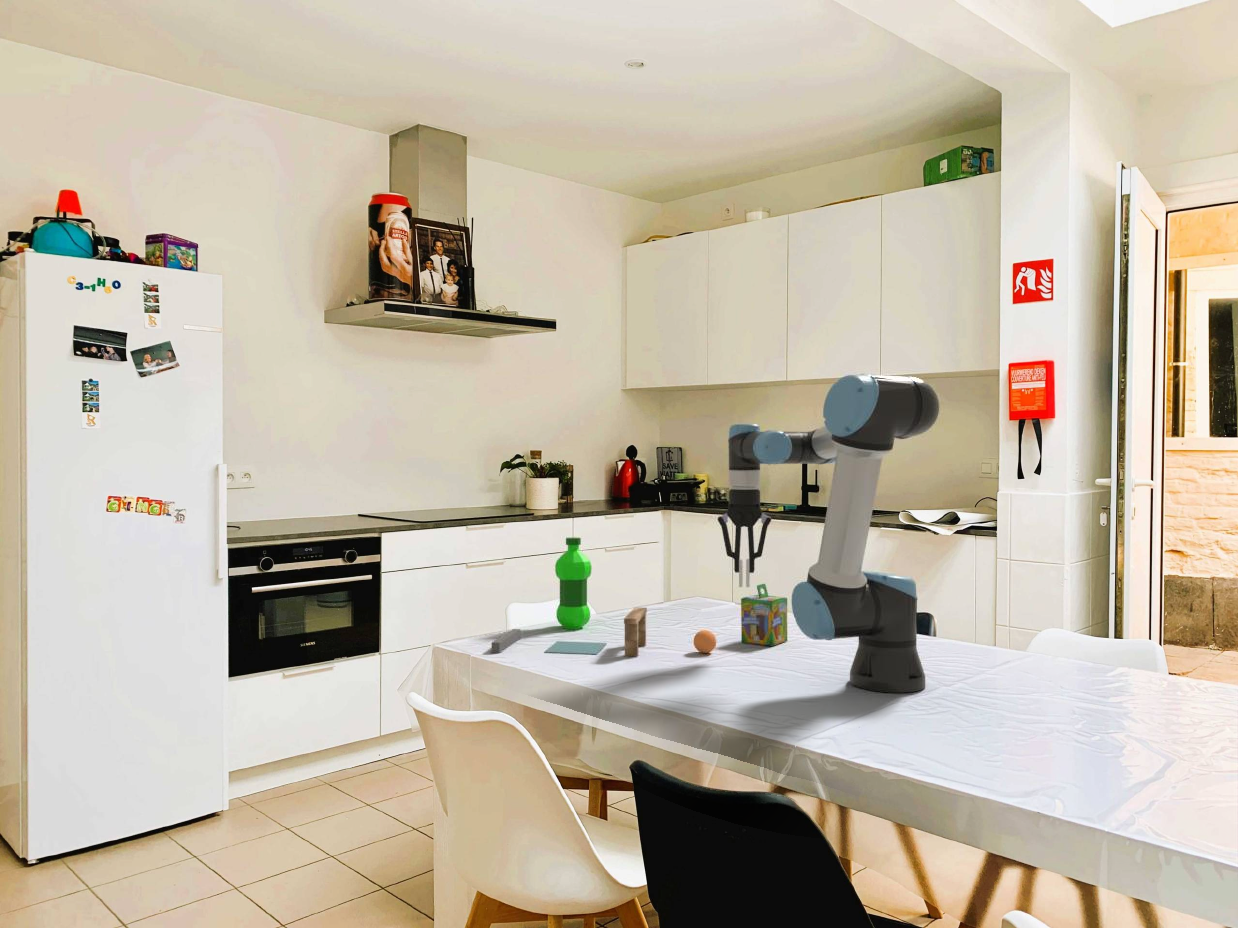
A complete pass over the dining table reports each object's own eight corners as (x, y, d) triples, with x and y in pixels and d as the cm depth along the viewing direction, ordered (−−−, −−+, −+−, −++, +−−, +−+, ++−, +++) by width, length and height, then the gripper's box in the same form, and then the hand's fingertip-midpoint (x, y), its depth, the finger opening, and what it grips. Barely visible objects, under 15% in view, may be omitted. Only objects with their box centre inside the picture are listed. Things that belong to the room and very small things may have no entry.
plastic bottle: (598, 626, 255) (598, 537, 255) (577, 632, 246) (577, 540, 246) (569, 622, 260) (569, 535, 260) (547, 628, 251) (547, 538, 251)
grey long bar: (499, 653, 219) (499, 642, 219) (491, 652, 220) (491, 642, 220) (520, 638, 237) (520, 629, 237) (513, 638, 237) (513, 628, 237)
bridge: (646, 643, 230) (646, 607, 230) (636, 657, 214) (636, 618, 214) (635, 643, 231) (635, 607, 231) (623, 657, 215) (623, 618, 215)
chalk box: (772, 647, 226) (772, 588, 226) (739, 642, 232) (739, 585, 232) (789, 641, 234) (789, 584, 234) (757, 637, 239) (757, 581, 239)
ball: (715, 655, 216) (715, 632, 216) (692, 654, 217) (692, 631, 217) (717, 650, 222) (717, 628, 222) (694, 650, 223) (694, 627, 223)
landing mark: (596, 654, 218) (596, 653, 218) (544, 652, 220) (544, 651, 220) (606, 643, 230) (606, 642, 230) (557, 641, 233) (557, 641, 233)
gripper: (774, 488, 220) (774, 584, 220) (716, 487, 223) (716, 583, 223) (773, 489, 213) (773, 589, 213) (714, 488, 215) (714, 587, 215)
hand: (744, 586), depth 218 cm, fingers closed
